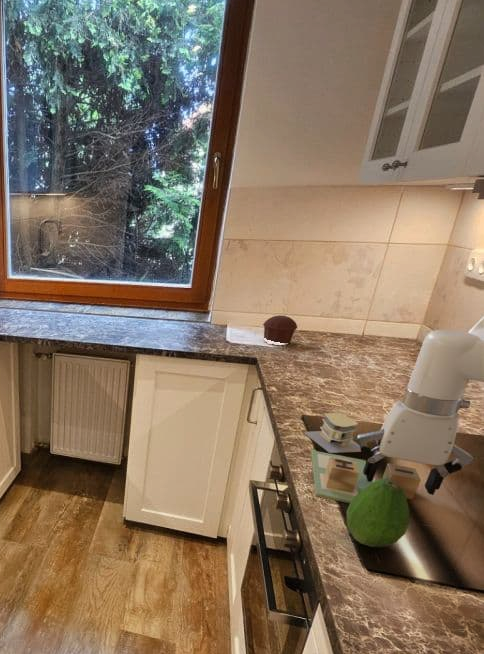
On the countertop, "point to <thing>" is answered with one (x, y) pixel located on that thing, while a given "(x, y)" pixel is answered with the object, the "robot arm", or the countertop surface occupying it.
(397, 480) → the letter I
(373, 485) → the avocado
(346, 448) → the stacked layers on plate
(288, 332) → the muffin
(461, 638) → the countertop surface
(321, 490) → the word mat
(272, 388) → the countertop surface
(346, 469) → the light brown block
